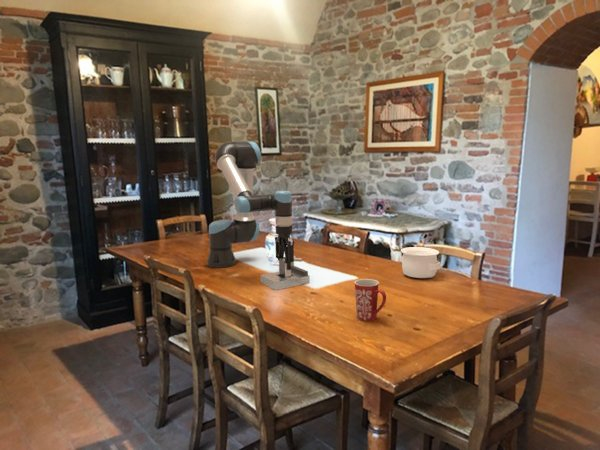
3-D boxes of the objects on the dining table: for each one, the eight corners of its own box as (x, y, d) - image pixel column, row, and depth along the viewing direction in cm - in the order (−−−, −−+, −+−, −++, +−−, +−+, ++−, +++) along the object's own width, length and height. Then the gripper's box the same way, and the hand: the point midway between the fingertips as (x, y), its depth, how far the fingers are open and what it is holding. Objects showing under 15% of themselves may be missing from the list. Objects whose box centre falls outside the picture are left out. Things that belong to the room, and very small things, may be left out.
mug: (348, 317, 173) (349, 282, 171) (364, 311, 179) (364, 277, 177) (376, 326, 164) (376, 289, 162) (391, 319, 170) (392, 284, 168)
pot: (449, 277, 223) (450, 251, 221) (429, 284, 212) (430, 258, 209) (410, 268, 239) (411, 244, 237) (389, 274, 228) (390, 250, 226)
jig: (260, 282, 218) (260, 270, 217) (293, 276, 227) (293, 265, 226) (275, 290, 206) (275, 277, 205) (309, 283, 216) (309, 271, 215)
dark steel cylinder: (277, 279, 217) (277, 257, 215) (286, 277, 220) (286, 256, 218) (283, 281, 213) (282, 259, 211) (292, 279, 216) (291, 258, 214)
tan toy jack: (299, 272, 234) (299, 252, 232) (280, 271, 236) (280, 252, 234) (303, 267, 243) (303, 248, 242) (285, 266, 245) (284, 247, 244)
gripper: (267, 223, 218) (268, 272, 221) (286, 228, 203) (288, 280, 206) (281, 222, 222) (282, 270, 225) (301, 226, 207) (302, 278, 210)
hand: (285, 275), depth 216 cm, fingers closed on dark steel cylinder, 5 cm apart
